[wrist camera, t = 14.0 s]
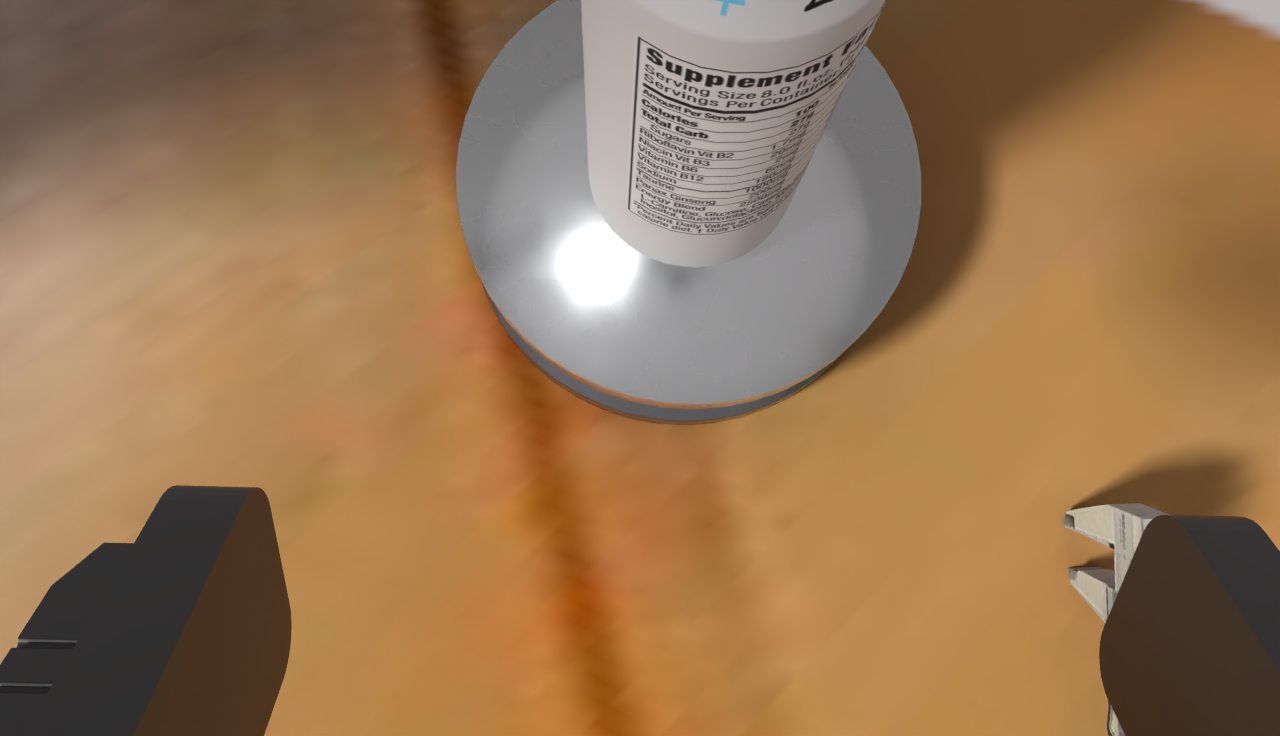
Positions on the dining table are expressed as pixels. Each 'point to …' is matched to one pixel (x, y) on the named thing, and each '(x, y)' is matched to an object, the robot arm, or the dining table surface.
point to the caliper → (1123, 534)
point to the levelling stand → (663, 293)
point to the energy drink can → (710, 114)
